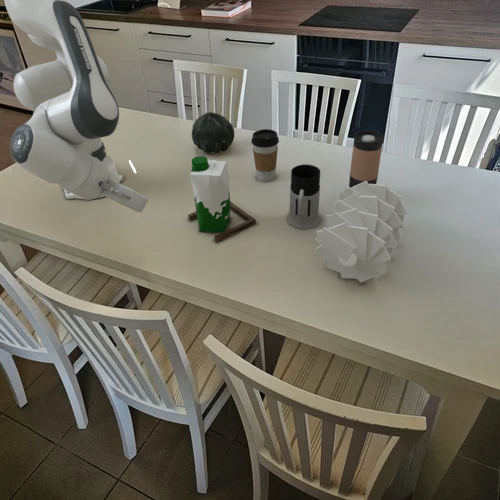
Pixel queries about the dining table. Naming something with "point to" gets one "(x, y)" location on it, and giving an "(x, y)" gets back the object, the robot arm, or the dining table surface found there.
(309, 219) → the glass holder
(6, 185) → the dining table surface
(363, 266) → the spiral staircase
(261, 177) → the coffee cup
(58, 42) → the robot arm
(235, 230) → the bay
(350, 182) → the travel mug
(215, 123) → the squash
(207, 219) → the soya milk
